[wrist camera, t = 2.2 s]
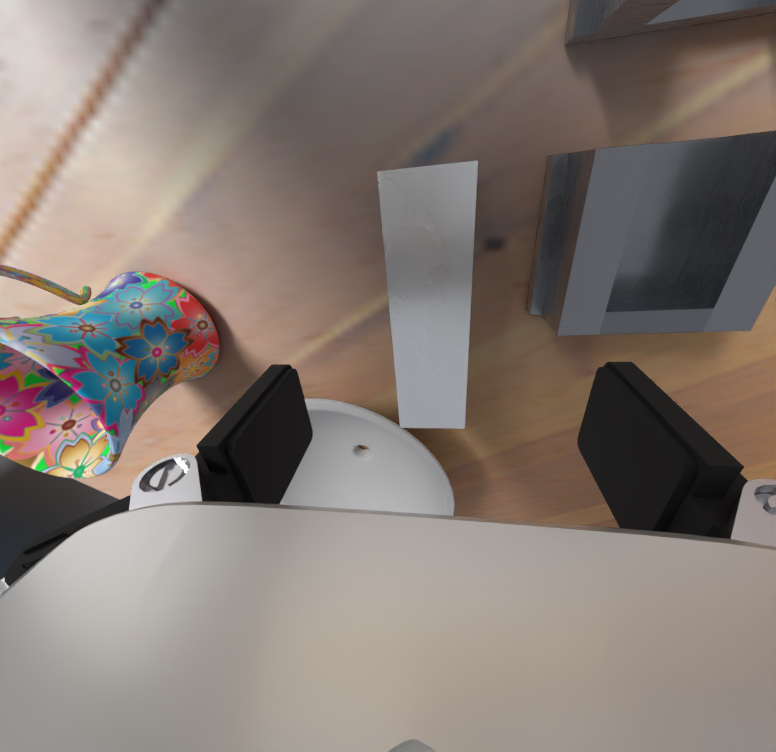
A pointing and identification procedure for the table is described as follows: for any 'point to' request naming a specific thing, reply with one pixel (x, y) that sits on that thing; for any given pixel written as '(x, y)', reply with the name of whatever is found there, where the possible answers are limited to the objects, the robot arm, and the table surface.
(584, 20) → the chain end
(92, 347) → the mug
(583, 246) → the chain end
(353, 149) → the table surface
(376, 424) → the dish
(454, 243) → the gray trapezoid plate
